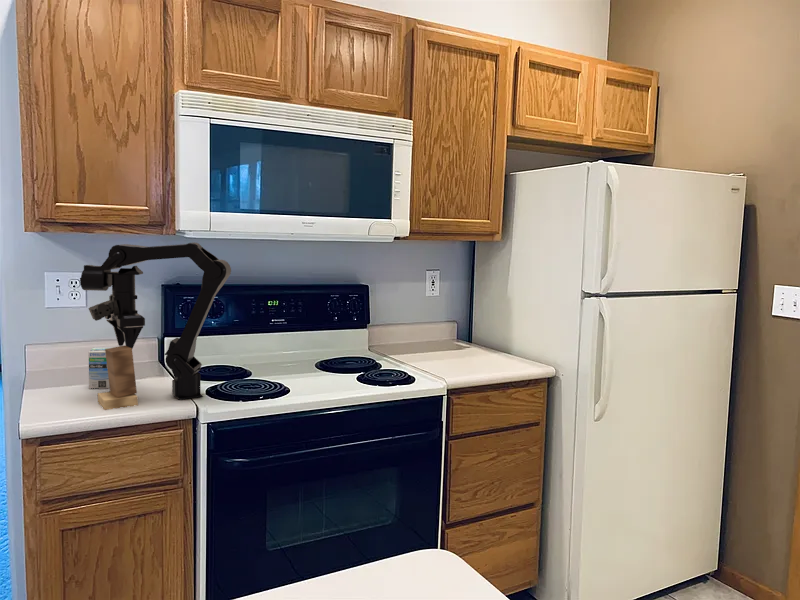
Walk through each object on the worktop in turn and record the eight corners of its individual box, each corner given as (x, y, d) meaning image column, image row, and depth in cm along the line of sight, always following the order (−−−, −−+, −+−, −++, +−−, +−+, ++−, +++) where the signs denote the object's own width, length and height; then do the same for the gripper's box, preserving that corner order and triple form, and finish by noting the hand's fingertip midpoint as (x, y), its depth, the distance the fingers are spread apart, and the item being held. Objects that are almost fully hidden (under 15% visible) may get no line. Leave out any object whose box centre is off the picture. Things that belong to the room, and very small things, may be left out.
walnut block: (129, 389, 171) (124, 345, 169) (136, 393, 167) (132, 348, 165) (110, 393, 168) (105, 349, 166) (117, 397, 164) (111, 352, 162)
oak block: (130, 400, 173) (130, 389, 172) (137, 407, 166) (137, 396, 166) (97, 404, 168) (97, 393, 168) (104, 412, 162) (104, 400, 161)
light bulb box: (88, 389, 181) (87, 351, 180) (92, 383, 187) (92, 347, 186) (129, 388, 184) (128, 350, 182) (132, 382, 190) (131, 346, 189)
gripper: (84, 288, 175) (85, 345, 177) (98, 295, 160) (100, 357, 162) (127, 287, 182) (128, 342, 183) (145, 294, 167) (145, 353, 168)
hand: (124, 348), depth 174 cm, fingers open, 9 cm apart
